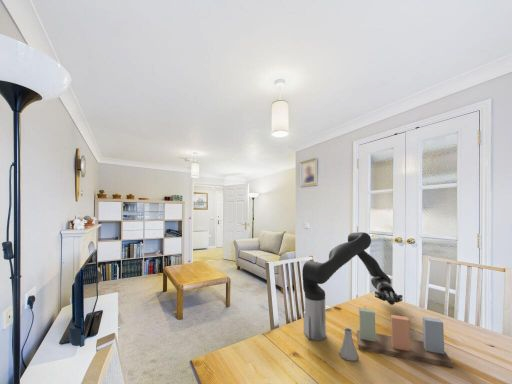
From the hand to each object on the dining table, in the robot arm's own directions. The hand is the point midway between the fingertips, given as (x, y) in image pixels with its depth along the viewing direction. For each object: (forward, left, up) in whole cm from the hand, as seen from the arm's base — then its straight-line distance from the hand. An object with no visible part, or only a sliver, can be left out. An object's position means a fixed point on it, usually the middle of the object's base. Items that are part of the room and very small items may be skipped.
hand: (391, 302), depth 110 cm
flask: (-29, -11, -14) cm, 34 cm away
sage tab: (-17, -5, -12) cm, 21 cm away
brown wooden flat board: (-6, -11, -14) cm, 19 cm away
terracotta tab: (-7, -13, -12) cm, 19 cm away
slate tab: (+4, -17, -12) cm, 21 cm away
